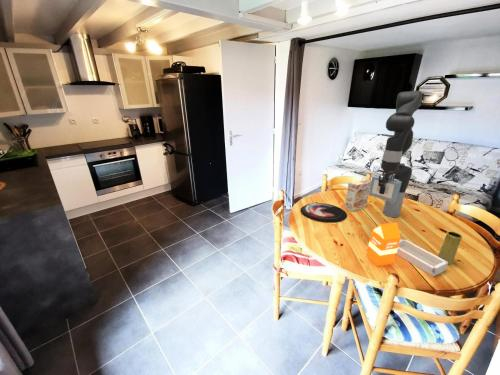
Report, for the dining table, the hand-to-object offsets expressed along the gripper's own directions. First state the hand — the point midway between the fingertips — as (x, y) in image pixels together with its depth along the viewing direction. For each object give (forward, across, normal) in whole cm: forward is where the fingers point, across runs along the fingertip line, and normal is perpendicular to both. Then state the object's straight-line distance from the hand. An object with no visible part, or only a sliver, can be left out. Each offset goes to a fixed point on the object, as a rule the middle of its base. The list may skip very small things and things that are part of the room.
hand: (383, 192), depth 115 cm
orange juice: (+28, +15, +10) cm, 33 cm away
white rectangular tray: (+27, +1, +21) cm, 35 cm away
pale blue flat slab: (+3, 0, 0) cm, 3 cm away
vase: (+28, -9, +30) cm, 41 cm away
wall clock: (+28, -4, -35) cm, 45 cm away
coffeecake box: (+28, -28, -26) cm, 47 cm away
